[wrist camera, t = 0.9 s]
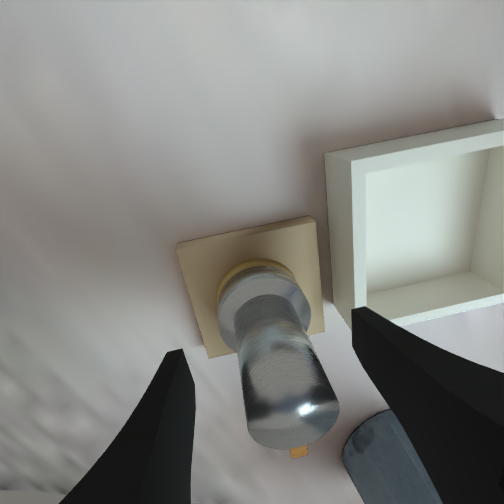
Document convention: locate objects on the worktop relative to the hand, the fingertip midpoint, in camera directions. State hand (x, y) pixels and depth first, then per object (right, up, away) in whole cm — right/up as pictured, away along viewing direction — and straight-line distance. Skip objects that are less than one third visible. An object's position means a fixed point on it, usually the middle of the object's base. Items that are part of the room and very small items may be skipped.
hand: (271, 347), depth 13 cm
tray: (+8, +6, +4) cm, 11 cm away
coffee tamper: (0, +1, +3) cm, 3 cm away
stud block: (-1, +2, +4) cm, 5 cm away
